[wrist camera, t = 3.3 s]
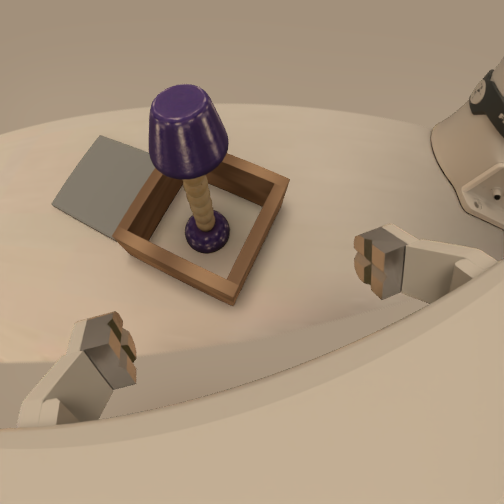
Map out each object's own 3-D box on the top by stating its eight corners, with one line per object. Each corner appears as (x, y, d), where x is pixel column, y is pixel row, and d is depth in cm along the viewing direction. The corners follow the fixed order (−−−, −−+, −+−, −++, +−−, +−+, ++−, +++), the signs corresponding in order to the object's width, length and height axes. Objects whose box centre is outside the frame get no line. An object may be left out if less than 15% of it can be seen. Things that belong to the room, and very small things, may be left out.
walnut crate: (281, 204, 30) (289, 179, 25) (233, 306, 27) (233, 297, 22) (185, 164, 31) (178, 135, 26) (130, 254, 28) (111, 236, 23)
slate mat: (167, 162, 31) (166, 159, 31) (116, 241, 28) (115, 239, 28) (101, 137, 32) (99, 135, 31) (53, 205, 29) (51, 204, 28)
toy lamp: (172, 237, 29) (115, 119, 13) (197, 198, 30) (171, 64, 14) (215, 261, 28) (195, 152, 12) (239, 220, 30) (248, 88, 14)
